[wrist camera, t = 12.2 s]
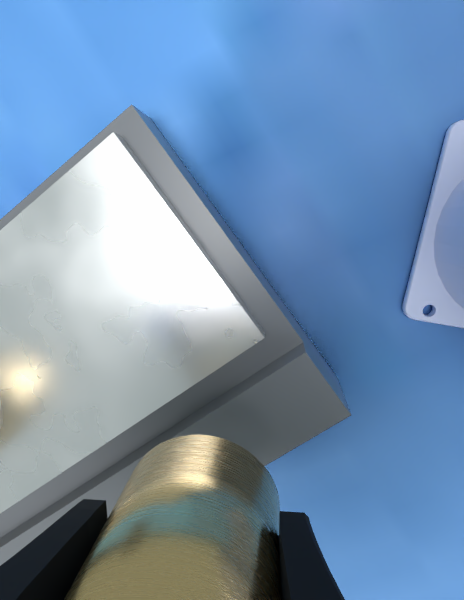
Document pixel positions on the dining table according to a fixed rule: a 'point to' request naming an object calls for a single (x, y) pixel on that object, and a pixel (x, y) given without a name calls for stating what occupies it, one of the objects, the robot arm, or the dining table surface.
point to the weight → (188, 529)
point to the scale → (136, 333)
